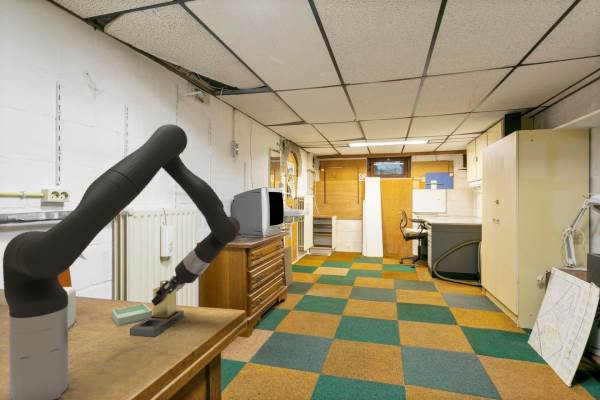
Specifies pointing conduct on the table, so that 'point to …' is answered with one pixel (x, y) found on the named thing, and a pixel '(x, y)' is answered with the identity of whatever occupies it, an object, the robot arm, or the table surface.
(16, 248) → the robot arm
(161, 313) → the gold perfume bottle
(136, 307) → the parts tray
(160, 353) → the table surface
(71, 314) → the photo printer
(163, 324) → the grey metal holder frame
